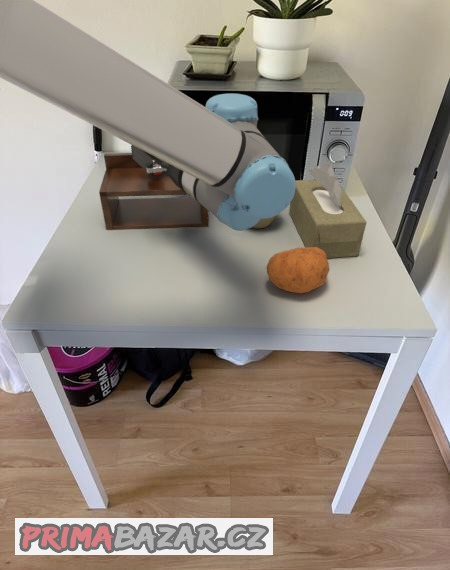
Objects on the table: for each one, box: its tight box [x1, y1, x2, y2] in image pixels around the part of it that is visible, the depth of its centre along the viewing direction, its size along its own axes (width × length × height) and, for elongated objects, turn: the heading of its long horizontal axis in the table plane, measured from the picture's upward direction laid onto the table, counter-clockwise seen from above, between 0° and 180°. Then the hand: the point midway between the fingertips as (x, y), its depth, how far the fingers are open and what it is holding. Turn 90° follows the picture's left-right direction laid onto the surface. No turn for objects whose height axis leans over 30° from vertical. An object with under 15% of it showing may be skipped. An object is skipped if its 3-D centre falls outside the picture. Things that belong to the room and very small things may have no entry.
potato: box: [265, 246, 330, 294], centre depth 79 cm, size 9×11×8 cm
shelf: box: [98, 152, 209, 231], centre depth 96 cm, size 22×12×12 cm, turn 94°
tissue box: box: [288, 162, 367, 259], centre depth 90 cm, size 19×10×16 cm, turn 7°
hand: (140, 134), depth 93 cm, fingers closed on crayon, 4 cm apart
